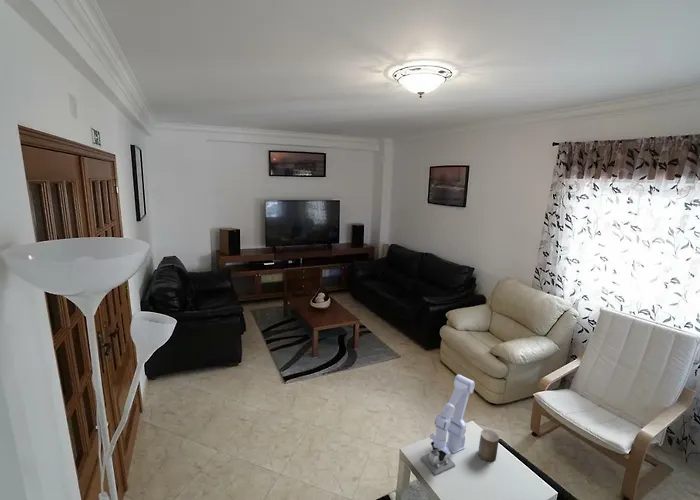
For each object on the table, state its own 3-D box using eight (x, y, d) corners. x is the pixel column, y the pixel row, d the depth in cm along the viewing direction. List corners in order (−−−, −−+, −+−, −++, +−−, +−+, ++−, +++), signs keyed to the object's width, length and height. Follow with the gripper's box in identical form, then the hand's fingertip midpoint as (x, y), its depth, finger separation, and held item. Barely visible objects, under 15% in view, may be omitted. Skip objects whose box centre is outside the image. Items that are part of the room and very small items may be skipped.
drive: (442, 454, 197) (443, 445, 196) (447, 459, 194) (448, 450, 192) (428, 460, 193) (429, 451, 191) (433, 466, 189) (434, 457, 188)
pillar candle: (498, 462, 195) (502, 440, 191) (481, 461, 195) (484, 439, 192) (492, 448, 204) (495, 427, 201) (475, 448, 205) (478, 426, 201)
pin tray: (440, 450, 202) (440, 446, 201) (455, 466, 192) (455, 461, 191) (421, 458, 196) (421, 454, 195) (435, 475, 186) (435, 470, 185)
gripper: (426, 429, 194) (424, 450, 197) (444, 448, 182) (441, 470, 185) (436, 426, 197) (434, 446, 201) (454, 444, 185) (451, 465, 188)
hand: (438, 457), depth 193 cm, fingers closed on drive, 4 cm apart
